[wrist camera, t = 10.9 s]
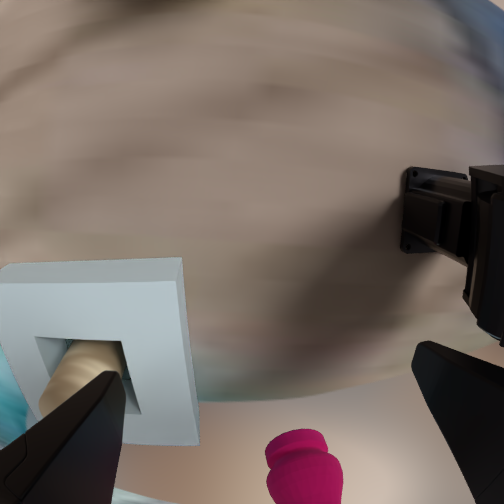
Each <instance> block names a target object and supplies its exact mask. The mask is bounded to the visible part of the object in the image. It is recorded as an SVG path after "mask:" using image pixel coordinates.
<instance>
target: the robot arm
mask: <svg viewBox="0 0 504 504" xmlns="http://www.w3.org/2000/svg"><path fill="white" fill-rule="evenodd" d="M413 171H414V172H415V174H414V176H413V174H412V173H413ZM469 175H470V176H471V181H468V178H467V176H466V174H462V173H456V172H449V171H442V170H436V169H428V168H421V167H413V166H412V167H409V168H408V170H407V178H406V194H405V201H404V212H403V223H402V236H401V244H400V249H401V251H402V252H404V253H407V254H409V253H427V252H439V253H441V254H443V255H445V256H447V257H449V258H451V259H453V260H455V261H457V262H459V263H460V264H462V265H464V266H466V267H467V276H466V284H465V289H464V290H463V296H462V297H463V299H464V301H465V302H466V303H467V305H468V306H469V308H470V310H471V311H472V313H473V314H474V316H475V317H476V318H477V325H478V327H479V328H481V329H482V330H483V331H485V332H486V333H487V334H489V335H490V336H491V337H493V338H495V339H497V340H499V341H500V344H499V345H500V346H501V347H504V165H486V166H469ZM462 178H463V179H462ZM407 244H408V247H407V248H406V245H407ZM411 367H412V371H413V373H414V376H415V378H416V380H417V382H418V385H419V387H420V390H421V392H422V394H423V396H424V399H425V401H426V403H427V406H428V407H429V409H430V411H431V413H432V415H433V417H434V419H435V421H436V423H437V424H438V426H439V428H440V430H441V432H442V434H443V436H444V438H445V440H446V442H447V444H448V446H449V447H450V450H451V451H452V453H453V455H454V457H455V460H456V461H457V464H458V466H459V468H460V470H461V472H462V474H463V476H464V478H465V480H466V482H467V484H468V487H469V488H470V491H471V493H472V495H473V498H474V499H475V503H476V504H504V368H502V367H500V366H497V365H494V364H491V363H489V362H486V361H483V360H481V359H478V358H475V357H472V356H469V355H467V354H464V353H462V352H459V351H456V350H454V349H451V348H448V347H446V346H443V345H440V344H438V343H435V342H432V341H424V342H420V343H418V345H417V347H416V350H415V353H414V357H413V360H412V364H411ZM125 406H126V392H125V389H124V386H123V383H122V380H121V377H120V374H119V372H117V371H112V370H105V371H103V372H101V373H100V374H99V375H98V376H96V377H95V378H94V379H92V380H91V381H90V382H89V383H87V384H86V385H85V386H84V387H82V388H81V389H80V390H78V391H77V392H76V393H75V394H73V395H72V396H71V397H70V398H68V399H67V400H66V401H64V402H63V403H62V404H61V405H59V406H58V407H57V408H55V409H54V410H53V411H52V412H50V413H49V414H48V415H46V416H45V417H44V418H43V419H41V420H40V421H39V422H38V423H36V424H35V425H34V426H32V427H31V428H30V429H29V430H27V431H26V432H25V434H22V435H21V436H19V437H18V438H17V439H16V440H14V441H13V442H12V443H10V444H9V445H8V446H6V447H5V448H3V449H2V450H0V504H111V501H112V495H113V489H114V483H115V478H116V472H117V467H118V462H119V456H120V451H121V446H122V438H123V426H124V416H125Z"/></svg>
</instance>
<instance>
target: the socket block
mask: <svg viewBox="0 0 504 504" xmlns="http://www.w3.org/2000/svg"><path fill="white" fill-rule="evenodd" d="M65 339H82V340H111V341H121V342H122V346H123V350H124V354H125V358H126V362H127V366H128V370H129V373H130V377H131V380H126V379H122V383H123V386H124V389H125V392H126V406H125V416H124V426H123V438H122V443H126V444H140V445H162V446H200V435H199V434H200V430H199V406H198V399H197V393H196V386H195V379H194V371H193V364H192V356H191V348H190V339H189V330H188V321H187V311H186V301H185V290H184V278H183V266H182V257H170V258H144V259H117V260H90V261H63V262H35V263H9V264H8V265H6V266H5V267H3V268H2V269H0V344H1V346H2V349H3V351H4V354H5V356H6V359H7V361H8V363H9V366H10V368H11V370H12V372H13V374H14V377H15V379H16V381H17V383H18V385H19V387H20V389H21V391H22V393H23V395H24V397H25V399H26V401H27V403H28V405H29V407H30V409H31V410H32V412H33V414H34V416H35V417H36V419H37V421H38V422H39V421H40V420H41V419H43V416H42V415H41V412H40V410H39V399H40V397H41V395H42V394H43V392H44V390H45V388H46V386H47V384H48V383H49V381H50V379H51V377H52V376H53V374H54V372H55V370H56V369H57V367H58V365H59V363H60V362H61V360H62V358H63V357H64V355H65V353H66V352H67V350H68V347H67V344H66V341H65Z"/></svg>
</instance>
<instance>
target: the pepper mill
mask: <svg viewBox="0 0 504 504" xmlns="http://www.w3.org/2000/svg"><path fill="white" fill-rule="evenodd" d="M327 452H328V447H327V444H326V442H325V440H324V437H323V435H322V434H321V433H320V432H318V431H316V430H312V429H298V430H292V431H289V432H286V433H283V434H281V435H279V436H277V437H276V438H274V439H273V440H272V441H270V443H269V444H268V445H267V447H266V450H265V455H266V460H267V464H268V467H269V468H270V469H271V470H270V472H269V474H268V476H267V481H266V482H267V487H268V490H269V493H270V495H271V497H272V498H273V500H274V502H275V503H276V504H341V495H342V487H343V472H342V469H341V465H340V463H339V461H338V459H337V458H335V457H334V456H333V455H331V454H329V453H327Z"/></svg>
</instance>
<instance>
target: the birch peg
mask: <svg viewBox="0 0 504 504" xmlns="http://www.w3.org/2000/svg"><path fill="white" fill-rule="evenodd" d="M126 364H127V362H126V358H125V354H124V350H123V346H122V342H121V341H111V340H82V339H74V340H73V342H72V343H71V345H70V347H69V348H68V350H67V352H66V353H65V355H64V357H63V358H62V360H61V362H60V363H59V365H58V367H57V369H56V370H55V372H54V374H53V376H52V377H51V379H50V381H49V383H48V384H47V386H46V388H45V390H44V392H43V394H42V395H41V397H40V399H39V410H40V412H41V415H42V416H43V418H44V417H45V416H46V415H48V414H49V413H50V412H52V411H53V410H54V409H55V408H57V407H58V406H59V405H61V404H62V403H63V402H64V401H66V400H67V399H68V398H70V397H71V396H72V395H73V394H75V393H76V392H77V391H78V390H80V389H81V388H82V387H84V386H85V385H86V384H87V383H89V382H90V381H91V380H92V379H94V378H95V377H96V376H98V375H99V374H100V373H101V372H103V371H105V370H112V371H117V372H119V374H120V377H121V380H122V376H123V373H124V370H125V367H126Z"/></svg>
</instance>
